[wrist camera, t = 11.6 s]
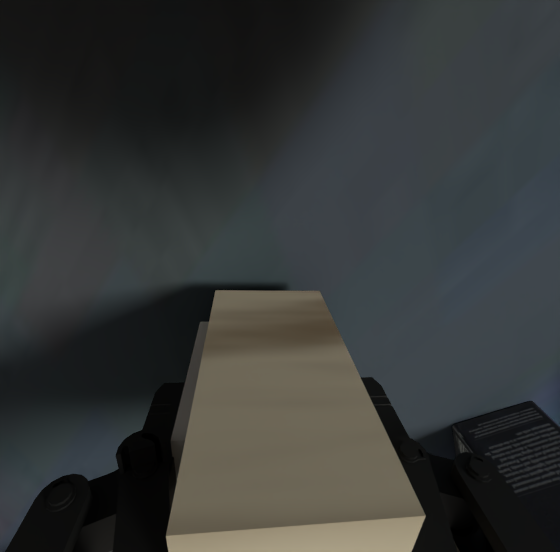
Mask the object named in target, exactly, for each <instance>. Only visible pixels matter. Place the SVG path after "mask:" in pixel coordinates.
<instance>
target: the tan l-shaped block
mask: <svg viewBox="0 0 560 552" xmlns="http://www.w3.org/2000/svg"><path fill="white" fill-rule="evenodd" d="M425 517H426V515H425V513H424V511H423V509H422V507H421V504H420V502H419V500H418V498H417V496H416V494H415V492H414V490H413V488H412V485H411V483H410V481H409V479H408V477H407V475H406V473H405V471H404V469H403V466H402V464H401V462H400V460H399V458H398V456H397V454H396V452H395V450H394V447H393V445H392V443H391V441H390V439H389V437H388V435H387V433H386V430H385V428H384V426H383V424H382V422H381V420H380V418H379V416H378V414H377V411H376V409H375V407H374V405H373V403H372V401H371V399H370V397H369V395H368V392H367V390H366V388H365V386H364V384H363V382H362V380H361V378H360V376H359V373H358V371H357V369H356V367H355V365H354V363H353V361H352V359H351V357H350V354H349V352H348V350H347V348H346V346H345V344H344V342H343V340H342V337H341V335H340V333H339V331H338V329H337V327H336V325H335V323H334V321H333V318H332V316H331V314H330V312H329V310H328V308H327V306H326V304H325V302H324V299H323V297H322V295H321V293H320V291H255V290H215V295H214V299H213V304H212V309H211V314H210V319H209V324H208V329H207V334H206V339H205V344H204V349H203V354H202V359H201V364H200V369H199V374H198V379H197V384H196V389H195V394H194V399H193V404H192V409H191V414H190V419H189V424H188V429H187V434H186V438H185V443H184V448H183V453H182V458H181V463H180V468H179V473H178V478H177V483H176V488H175V493H174V498H173V503H172V508H171V513H170V518H169V523H168V528H167V533H166V540H167V547H168V552H412V549H413V547H414V544H415V542H416V539H417V537H418V534H419V532H420V529H421V527H422V524H423V522H424V519H425Z"/></svg>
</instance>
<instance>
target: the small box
mask: <svg viewBox="0 0 560 552" xmlns="http://www.w3.org/2000/svg"><path fill="white" fill-rule="evenodd" d="M452 429H453V438H454V445H455V453H456V456H457V455H458V454H459V453H462V452H471V453H475V454H477V455H480V456H482V457H483V458H485V459H486V460H488V461H489V462H491V464H492V465H493V466H494V467H495V468H496V469H497V470H498V471H499V473H500V474H501V475H502V477H503V478H504V479H505V481H506V482H507V483H508V485H509V486H510V488H511V489H512V490H513V492H514V493H515V494H516V496H517V497H518V498H519V500H520V501H521V502H522V504H523V505H524V506H525V508H526V509H527V511H528V512H529V513H530V515H531V516H532V517H533V519H534V520H535V521H536V523H537V524H538V525H539V527H540V528H541V529H542V531H543V532H544V534H545V535H546V536H547V538H548V539H549V540H550V542H551V543H552V544H553V546H554V547H555V548H556V550H557V551H558V552H560V426H559V425H558V424H557V423H556V422H554V421H553V420H552V419H551V418H550V417H549V416H548V415H547V414H546V413H545V412H544V411H543V410H542V409H540V408H539V407H538V406H537V405H536V404H535V403H534V402H533V401H529V402H526V403H523V404H519V405H516V406H512V407H510V408H506V409H503V410H500V411H496V412H493V413H490V414H486V415H483V416H480V417H477V418H474V419H470V420H467V421H464V422H461V423H458V424H455V425H453V427H452Z"/></svg>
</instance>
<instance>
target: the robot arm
mask: <svg viewBox="0 0 560 552" xmlns="http://www.w3.org/2000/svg"><path fill="white" fill-rule="evenodd" d="M208 324H209V322H200V324H199V328H198V332H197V336H196V340H195V344H194V349H193V353H192V357H191V361H190V365H189V369H188V373H187V377H186V381H185V383H164V384H163V385H162V386H161V387H160V388H159V390H158V391H157V392H156V393H155V395H154V398H153V401H152V404H151V407H150V410H149V412H148V416H147V418H146V421H145V424H144V426H143V429H142V430H141V431H138V432H136V433H133V434H132V435H130V436H129V437H127V438H126V439H125V440H124V441H123V442H122V443H121V445H120V446H119V447H118V450H117V453H116V459H117V463H118V468H119V469H117V470H116V471H114V472H112V473H110V474H107V475H105V476H102V477H99V478H96V479H93V480H90V481H88V480H87V479H86V478H85V477H84V476H82V475H78V474H70V475H66V476H62V477H60V478H58V479H56V480H54V481H53V482H51V483H50V484H49V485H48V486H46V487H45V488H44V489H43V490H42V491H41V492H40V494H39V495H38V496H37V497H36V499H35V500H34V502H33V504H32V506H31V507H30V509H29V511H28V513H27V514H26V516H25V518H24V520H23V521H22V523H21V525H20V527H19V528H18V530H17V532H16V534H15V535H14V537H13V539H12V541H11V542H10V544H9V546H8V548H7V550H6V551H5V552H110V551H112V550H113V552H168V547H167V540H166V533H167V528H168V523H169V518H170V513H171V508H172V503H173V498H174V493H175V488H176V483H177V478H178V473H179V468H180V463H181V458H182V453H183V448H184V443H185V438H186V434H187V429H188V424H189V419H190V414H191V409H192V404H193V399H194V394H195V389H196V384H197V379H198V374H199V369H200V364H201V359H202V354H203V349H204V344H205V339H206V334H207V329H208ZM361 380H362V382H363V384H364V386H365V388H366V390H367V392H368V395H369V397H370V399H371V401H372V403H373V405H374V407H375V409H376V411H377V414H378V416H379V418H380V420H381V422H382V424H383V426H384V428H385V430H386V433H387V435H388V437H389V439H390V441H391V443H392V445H393V447H394V450H395V452H396V454H397V456H398V458H399V460H400V462H401V464H402V466H403V469H404V471H405V473H406V475H407V477H408V479H409V481H410V483H411V485H412V488H413V490H414V492H415V494H416V496H417V498H418V500H419V502H420V504H421V507H422V509H423V511H424V513H425V515H426V517H425V519H424V522H423V524H422V527H421V529H420V532H419V534H418V537H417V539H416V542H415V544H414V547H413V549H412V552H558V551H557V550H556V548H555V547H554V546H553V544H552V543H551V542H550V540H549V539H548V538H547V536H546V535H545V534H544V532H543V531H542V529H541V528H540V527H539V525H538V524H537V523H536V521H535V520H534V519H533V517H532V516H531V515H530V513H529V512H528V511H527V509H526V508H525V506H524V505H523V504H522V502H521V501H520V500H519V498H518V497H517V496H516V494H515V493H514V492H513V490H512V489H511V488H510V486H509V485H508V483H507V482H506V481H505V479H504V478H503V477H502V475H501V474H500V473H499V471H498V470H497V469H496V468H495V467H494V466H493V465H492V464H491V462H489V461H488V460H486V459H485V458H483V457H482V456H480V455H477V454H475V453H471V452H462V453H459V454H458V455H457V456H456V458H455V460H451V459H447V458H443V457H439V456H435V455H432V454H429V453H427V452H426V451H425V449H424V448H423V447H422V446H421V445H420V444H419V443H417V442H416V441H414V440H413V439H410V438H409V436H408V434H407V432H406V431H405V429H404V427H403V425H402V423H401V421H400V420H399V418H398V416H397V414H396V412H395V410H394V408H393V407H392V406H391V403H390V401H389V399H388V398H387V395H386V394H385V392H384V390H383V388H382V386H381V385H380V384H379V383H378V382H377V381H375V380H374V379H373V378H372V377H367V378H361Z"/></svg>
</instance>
